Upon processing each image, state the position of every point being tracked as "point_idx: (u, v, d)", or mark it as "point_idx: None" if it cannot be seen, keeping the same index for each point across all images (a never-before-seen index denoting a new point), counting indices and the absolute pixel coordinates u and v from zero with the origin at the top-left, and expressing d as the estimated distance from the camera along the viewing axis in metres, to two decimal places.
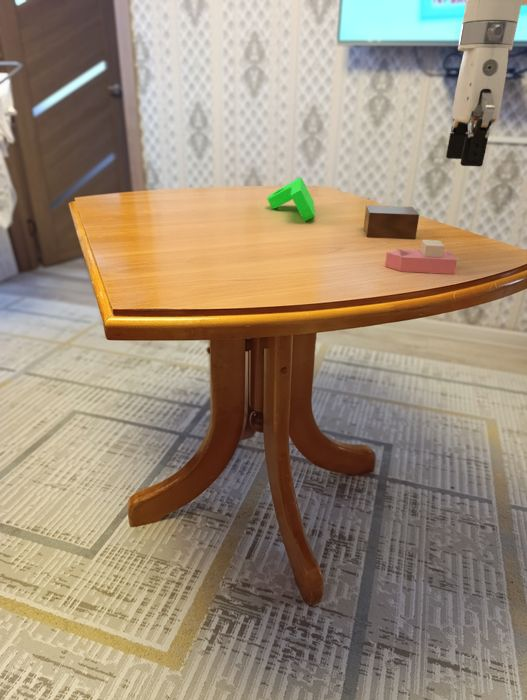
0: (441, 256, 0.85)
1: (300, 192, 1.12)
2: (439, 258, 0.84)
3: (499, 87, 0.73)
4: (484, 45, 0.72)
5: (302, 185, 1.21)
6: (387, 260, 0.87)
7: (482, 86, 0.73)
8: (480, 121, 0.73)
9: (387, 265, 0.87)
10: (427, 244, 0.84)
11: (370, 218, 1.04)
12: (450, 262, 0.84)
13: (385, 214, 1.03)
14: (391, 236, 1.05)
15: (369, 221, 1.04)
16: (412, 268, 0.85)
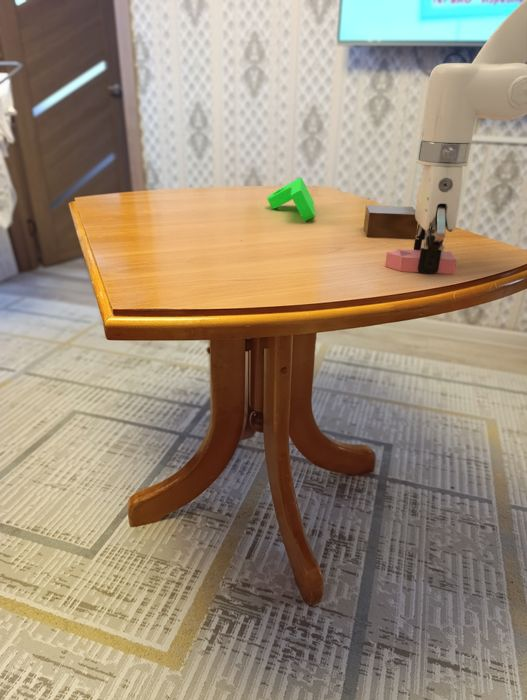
0: (441, 256, 0.85)
1: (300, 192, 1.12)
2: None
3: (454, 202, 0.77)
4: (440, 164, 0.77)
5: (302, 185, 1.21)
6: (387, 260, 0.87)
7: (438, 201, 0.78)
8: (433, 238, 0.80)
9: (387, 265, 0.87)
10: None
11: (370, 218, 1.04)
12: (450, 262, 0.84)
13: (385, 214, 1.03)
14: (391, 236, 1.05)
15: (369, 221, 1.04)
16: (412, 268, 0.85)
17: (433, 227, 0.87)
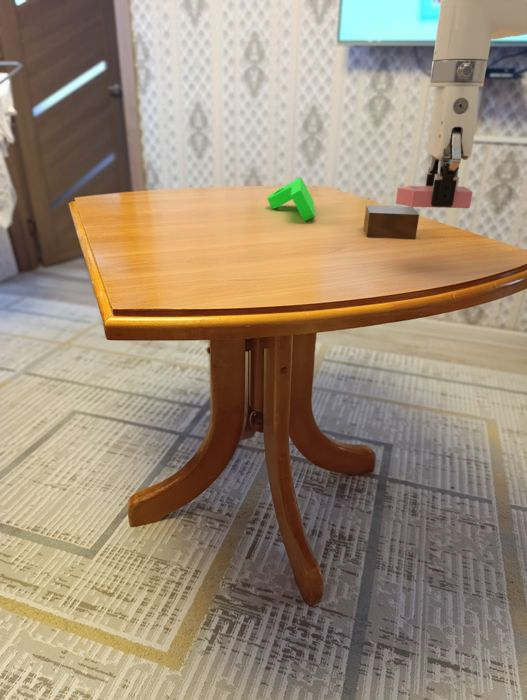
0: (456, 189, 0.80)
1: (300, 192, 1.12)
2: None
3: (470, 125, 0.73)
4: (454, 83, 0.72)
5: (302, 185, 1.21)
6: (398, 196, 0.82)
7: (453, 124, 0.73)
8: (447, 166, 0.75)
9: (398, 202, 0.83)
10: None
11: (370, 218, 1.04)
12: (466, 195, 0.79)
13: (385, 214, 1.03)
14: (391, 236, 1.05)
15: (369, 221, 1.04)
16: (425, 203, 0.80)
17: None
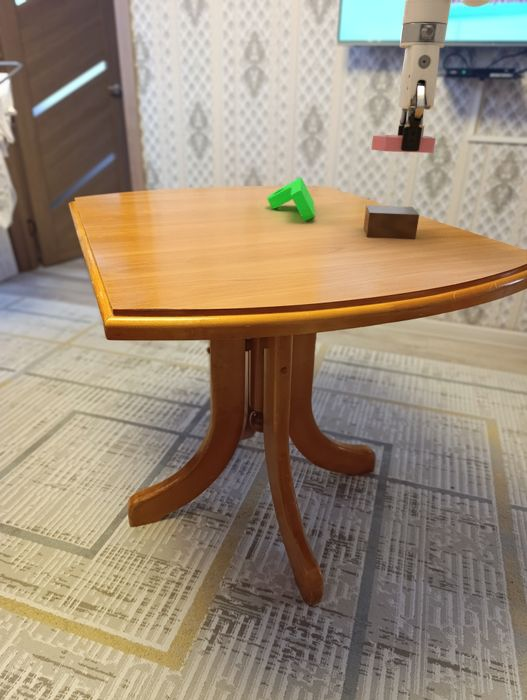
0: (421, 136, 0.94)
1: (300, 192, 1.12)
2: None
3: (432, 78, 0.87)
4: (419, 43, 0.86)
5: (302, 185, 1.21)
6: (373, 143, 0.96)
7: (418, 77, 0.87)
8: (414, 113, 0.89)
9: (373, 148, 0.97)
10: None
11: (370, 218, 1.04)
12: (430, 141, 0.94)
13: (385, 214, 1.03)
14: (391, 236, 1.05)
15: (369, 221, 1.04)
16: (396, 148, 0.94)
17: None
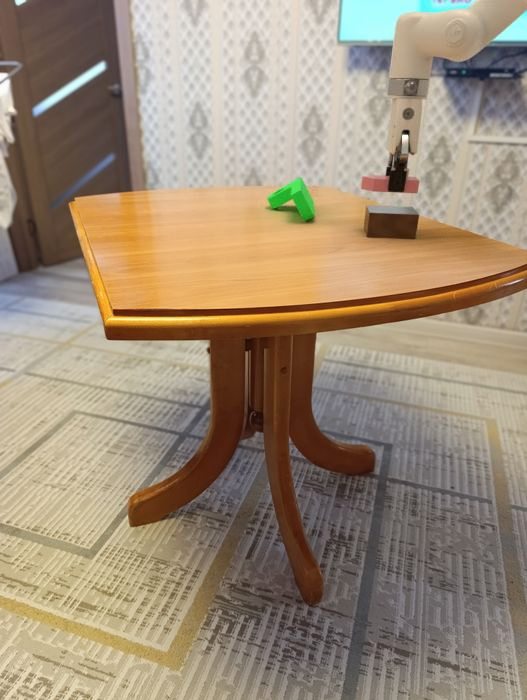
0: (407, 178, 1.02)
1: (300, 192, 1.12)
2: None
3: (416, 128, 0.95)
4: (403, 96, 0.94)
5: (302, 185, 1.21)
6: (363, 183, 1.05)
7: (403, 127, 0.95)
8: (398, 159, 0.97)
9: (363, 187, 1.05)
10: None
11: (370, 218, 1.04)
12: (414, 183, 1.02)
13: (385, 214, 1.03)
14: (391, 236, 1.05)
15: (369, 221, 1.04)
16: (383, 188, 1.03)
17: None
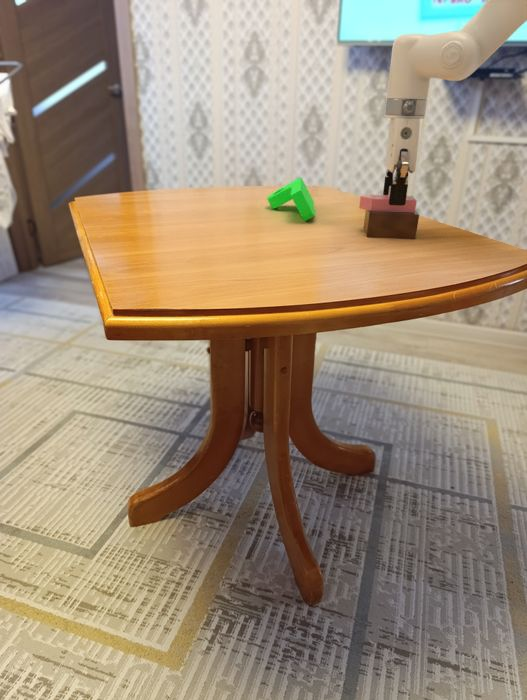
0: None
1: (300, 192, 1.12)
2: None
3: (414, 147, 0.96)
4: (401, 116, 0.96)
5: (302, 185, 1.21)
6: (361, 203, 1.06)
7: (401, 146, 0.97)
8: (399, 173, 0.96)
9: (361, 207, 1.07)
10: None
11: (370, 218, 1.04)
12: (411, 202, 1.03)
13: (385, 214, 1.03)
14: (391, 236, 1.05)
15: (369, 221, 1.04)
16: (381, 208, 1.04)
17: None
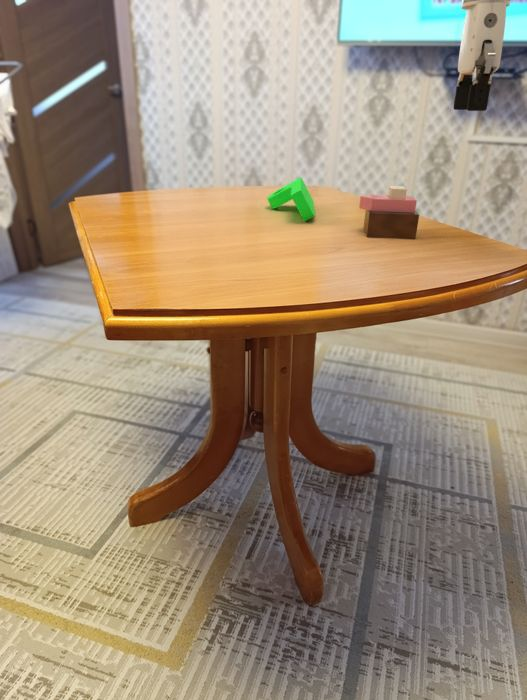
0: (404, 198, 1.04)
1: (300, 192, 1.12)
2: (402, 199, 1.04)
3: (499, 37, 0.83)
4: (484, 1, 0.82)
5: (302, 185, 1.21)
6: (361, 203, 1.06)
7: (484, 37, 0.83)
8: (483, 68, 0.83)
9: (361, 207, 1.07)
10: (393, 188, 1.04)
11: (370, 218, 1.04)
12: (411, 202, 1.03)
13: (385, 214, 1.03)
14: (391, 236, 1.05)
15: (369, 221, 1.04)
16: (381, 208, 1.04)
17: None
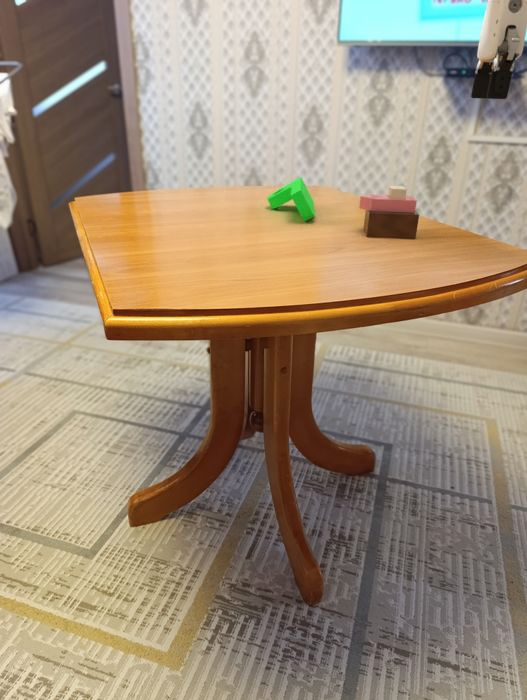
0: (404, 198, 1.04)
1: (300, 192, 1.12)
2: (402, 199, 1.04)
3: (523, 23, 0.81)
4: None
5: (302, 185, 1.21)
6: (361, 203, 1.06)
7: (508, 22, 0.81)
8: (506, 54, 0.80)
9: (361, 207, 1.07)
10: (393, 188, 1.04)
11: (370, 218, 1.04)
12: (411, 202, 1.03)
13: (385, 214, 1.03)
14: (391, 236, 1.05)
15: (369, 221, 1.04)
16: (381, 208, 1.04)
17: (494, 63, 0.91)
